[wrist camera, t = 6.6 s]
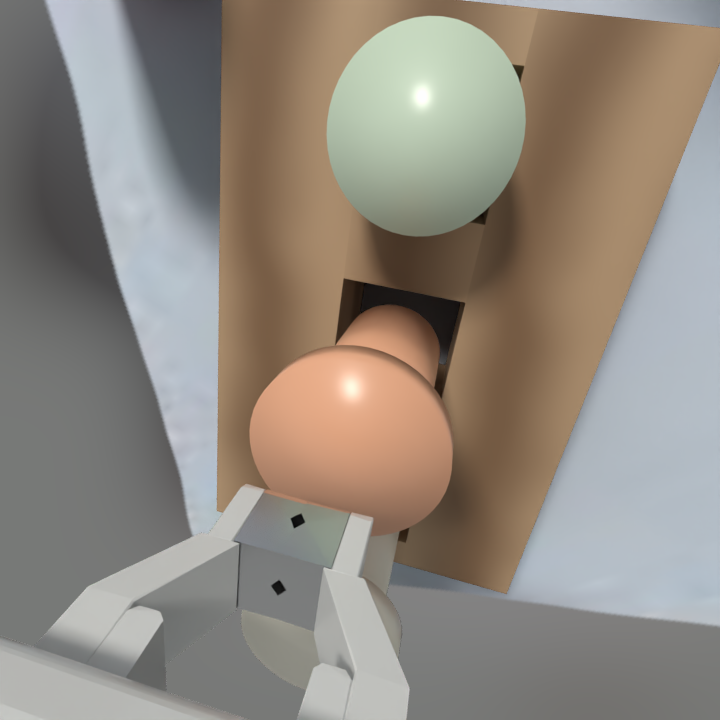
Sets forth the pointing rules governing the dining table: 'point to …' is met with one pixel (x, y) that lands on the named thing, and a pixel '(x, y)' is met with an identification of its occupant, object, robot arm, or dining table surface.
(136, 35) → the dining table surface
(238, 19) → the walnut board
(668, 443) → the dining table surface
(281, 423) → the peach mushroom knob
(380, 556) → the cream plunger
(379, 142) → the sage plunger
